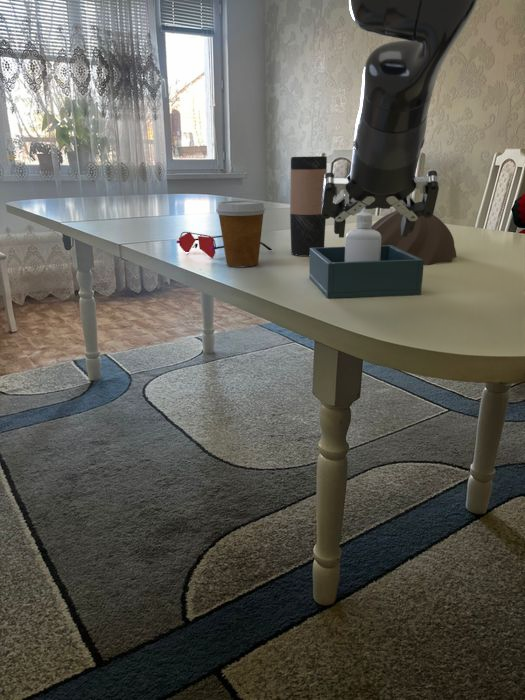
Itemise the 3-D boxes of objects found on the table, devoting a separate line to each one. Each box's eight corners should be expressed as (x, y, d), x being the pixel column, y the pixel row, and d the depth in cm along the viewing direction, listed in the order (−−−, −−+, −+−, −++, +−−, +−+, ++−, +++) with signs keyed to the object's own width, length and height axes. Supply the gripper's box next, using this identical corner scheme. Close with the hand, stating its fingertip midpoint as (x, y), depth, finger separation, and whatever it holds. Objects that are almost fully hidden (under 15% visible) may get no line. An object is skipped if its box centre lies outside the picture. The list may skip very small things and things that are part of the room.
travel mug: (332, 253, 119) (334, 156, 112) (309, 257, 114) (310, 156, 107) (305, 249, 124) (307, 156, 117) (282, 253, 119) (282, 157, 112)
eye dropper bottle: (369, 285, 85) (373, 207, 81) (339, 281, 89) (342, 205, 85) (383, 281, 88) (388, 205, 84) (354, 276, 92) (357, 203, 88)
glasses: (176, 253, 121) (174, 230, 120) (234, 244, 132) (233, 223, 130) (212, 261, 112) (211, 236, 110) (272, 251, 122) (272, 229, 120)
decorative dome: (463, 265, 103) (469, 212, 100) (357, 263, 107) (360, 211, 104) (451, 249, 121) (455, 203, 118) (361, 247, 125) (363, 202, 121)
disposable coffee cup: (228, 271, 102) (226, 205, 98) (211, 262, 110) (209, 201, 106) (274, 266, 106) (273, 202, 101) (254, 258, 114) (253, 199, 110)
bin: (390, 275, 96) (391, 245, 95) (421, 294, 83) (424, 260, 81) (309, 278, 95) (309, 247, 93) (327, 298, 81) (328, 263, 80)
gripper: (449, 116, 61) (422, 210, 76) (323, 119, 63) (320, 211, 77) (456, 166, 58) (426, 254, 73) (323, 168, 60) (320, 255, 74)
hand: (372, 232), depth 75 cm, fingers open, 8 cm apart
